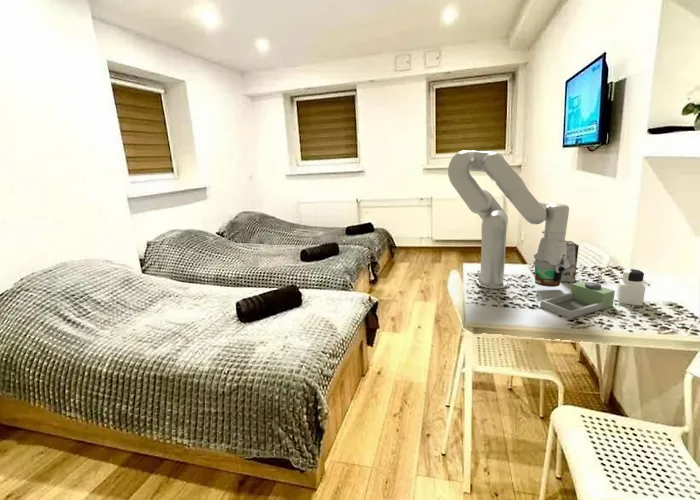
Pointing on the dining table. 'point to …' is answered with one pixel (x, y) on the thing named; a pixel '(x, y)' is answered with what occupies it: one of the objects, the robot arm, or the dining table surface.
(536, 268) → the food container
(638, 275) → the medicine bottle
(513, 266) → the dining table surface
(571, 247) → the coffee box
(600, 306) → the shallow rimmed tray
